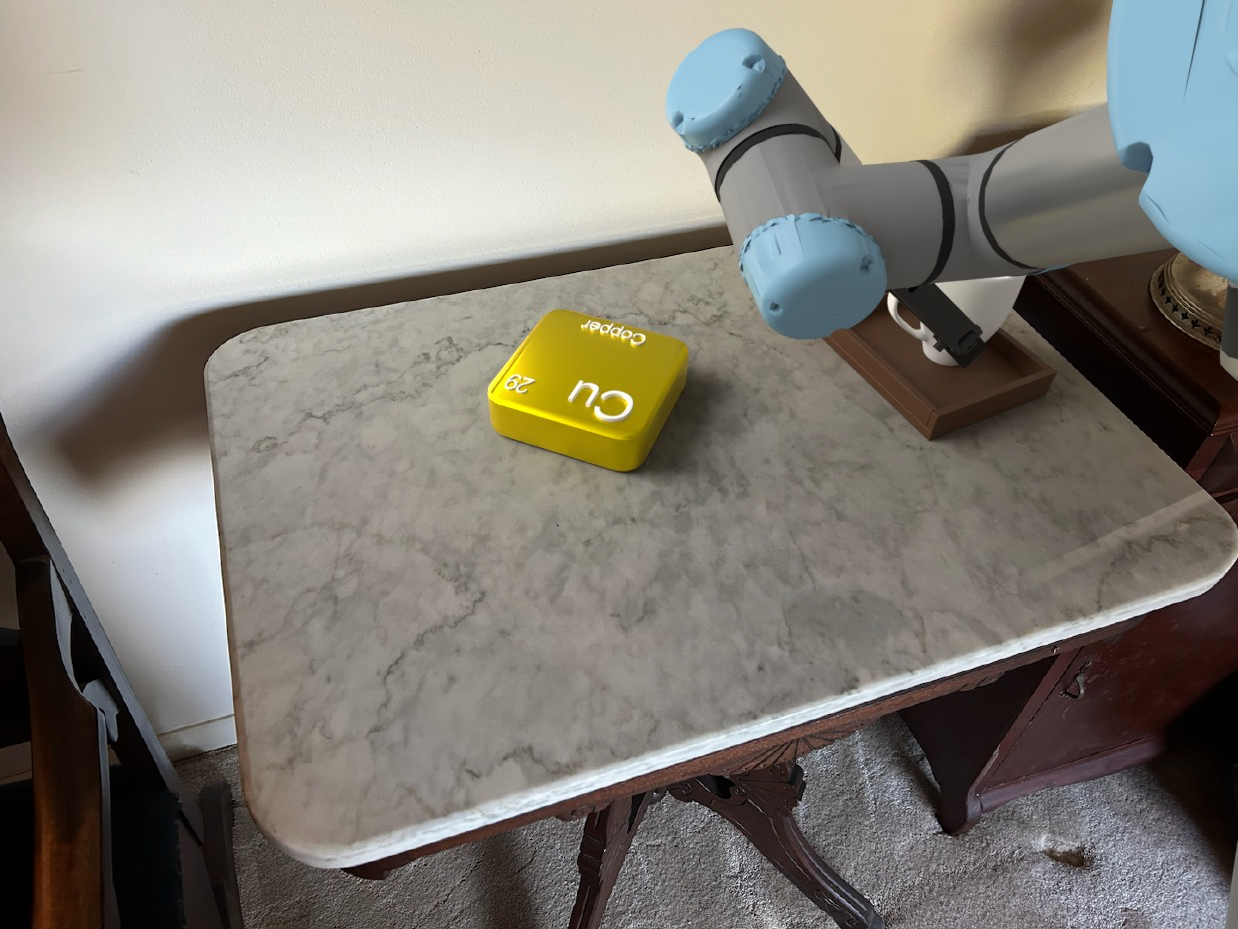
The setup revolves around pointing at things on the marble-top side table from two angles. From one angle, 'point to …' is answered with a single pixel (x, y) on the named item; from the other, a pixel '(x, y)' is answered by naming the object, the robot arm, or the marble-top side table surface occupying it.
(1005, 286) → the mug
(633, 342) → the element tile
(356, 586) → the marble-top side table surface
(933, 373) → the tray
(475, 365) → the marble-top side table surface
